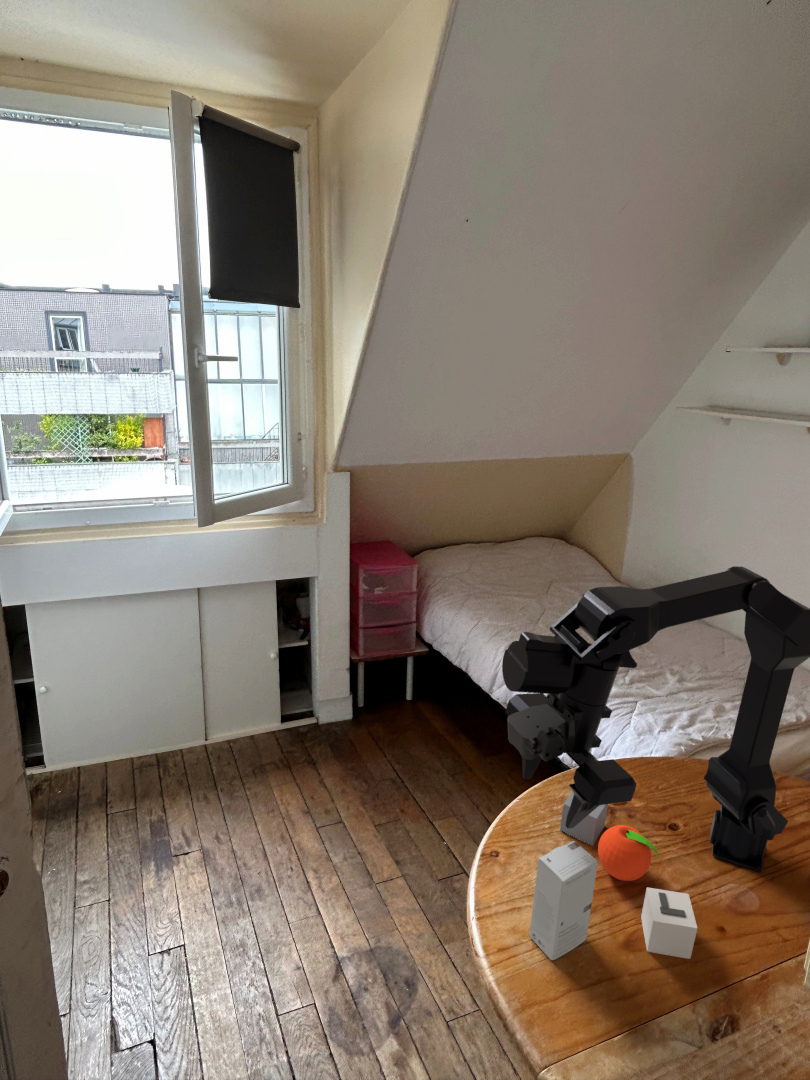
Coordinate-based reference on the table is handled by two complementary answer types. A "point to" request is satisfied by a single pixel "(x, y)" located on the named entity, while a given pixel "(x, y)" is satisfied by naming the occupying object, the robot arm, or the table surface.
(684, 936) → the pale grey block
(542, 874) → the skincare box
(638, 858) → the clementine
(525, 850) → the table surface
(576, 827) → the slate block
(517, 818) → the table surface
